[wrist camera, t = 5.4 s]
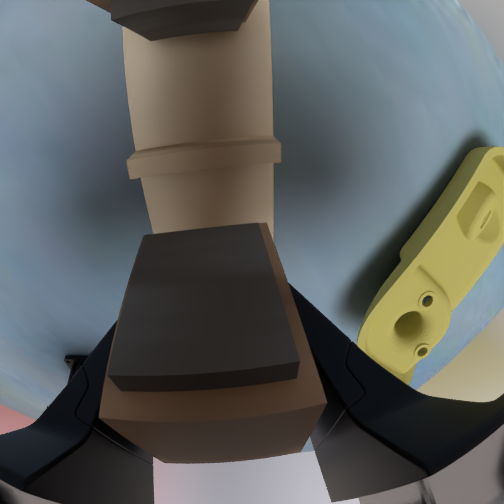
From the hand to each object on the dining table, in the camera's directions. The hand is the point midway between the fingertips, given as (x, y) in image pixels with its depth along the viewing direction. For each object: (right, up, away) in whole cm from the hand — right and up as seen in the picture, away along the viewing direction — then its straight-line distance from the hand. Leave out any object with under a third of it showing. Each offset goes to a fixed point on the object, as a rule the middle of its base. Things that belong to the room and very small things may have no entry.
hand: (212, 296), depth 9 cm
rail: (-1, +8, +3) cm, 9 cm away
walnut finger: (0, +1, +1) cm, 1 cm away
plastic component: (+17, +2, +11) cm, 20 cm away
